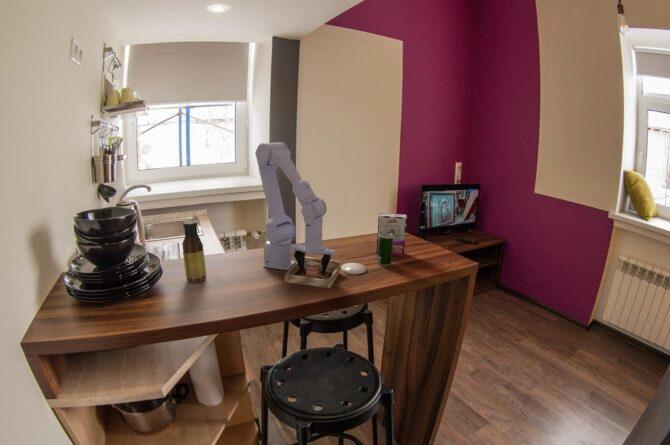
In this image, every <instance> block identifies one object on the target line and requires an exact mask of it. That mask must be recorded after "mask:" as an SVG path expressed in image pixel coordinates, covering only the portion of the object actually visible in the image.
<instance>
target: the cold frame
mask: <svg viewBox="0 0 670 445" xmlns="http://www.w3.org/2000/svg"><path fill="white" fill-rule="evenodd" d="M321 259H322V258H320V257H319V258H318V257H312V256H305V259H304V270H306V268H305V265H306V263H309V262H317V263H320V264H321V268H320V272H322V260H321ZM340 263H341V261H340V260H334V259H330V261H329V263H328V266H327V269H326V273H331V276H330V277H329V279H323V278H319V279H317V278H310V277H306V276H303V275H302V276H301V275H295V274H296V272H298V270H300V268H299V265H298V263H297V261H295V263H294V264H293V265H292V266H291V267H290V268H289V269H288V270H287V272H286V273H285V274H284V282H285V283H291V284H298V285H303V286H311V287H317V288H325V289H331V288H332V286H333V285H334V283H335V281H336V279H337V277H338V276H339V274H340V268H341V266H340Z"/></svg>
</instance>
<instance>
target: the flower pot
mask: <svg viewBox="0 0 670 445" xmlns="http://www.w3.org/2000/svg"><path fill="white" fill-rule="evenodd" d="M305 268H306V269H305V277H310V278H317V279H321V278H320V277H321V271H320V268H321V264H320V263H317V262H309V263H306V265H305Z"/></svg>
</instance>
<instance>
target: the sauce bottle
mask: <svg viewBox="0 0 670 445" xmlns="http://www.w3.org/2000/svg"><path fill="white" fill-rule="evenodd" d="M182 226H183V228H184V239H183V240H182V243H181V244H182V254H183V263H184V270H185V271H184V272H185V277H186V281H187V282H188V283H191V284H198V283H201V282H203V281H205V280H206V279H207V269H206V260H205V251H204V243H203V242H202V239H201V238H200V236H199V234H198V223H197V221H196V220H187V221H184V222H183V223H182Z"/></svg>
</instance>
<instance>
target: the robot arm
mask: <svg viewBox="0 0 670 445" xmlns="http://www.w3.org/2000/svg"><path fill="white" fill-rule="evenodd" d="M255 158H256V162H257V166H258V172H259V175H260V180H261V184H262V188H263V192H264V196H265V201H266V205H267V209H268V214H269V218H268V220H267V222H266V223H265V229H266V230H265V232H266V233H265V237H266V239H267V241H266V242H265V244H264V245H263V246H264V247H263V261H264V262H263V263H264V264H263V268H268V269H275V270H283V271H289V270H290V269H291V267H292V266H293V265H294V264H295V263H296V262H297V263H298V265H299V271H300V274H303V273H304V272H305V269H304V259H305V257H306V254H308V255H320V256H322V257H321V258H320V259H321V260H322V271H321V277H325V275H326V273H327V272H326V269H327V266H328V263H329V261H330V260H332V258H335V256H336V250H335V249H331V248H327V247H325V246H323V224H324V223H323V218H324V215H325V214H326V213H327V208H328V207H327V204H326V202H325V200H323V199H321V198H320V197H319V196H317V195H316V194H315V192H314V190H313V189H312V187H311V184H310V183H309V182H308V181H307V180H304V179H302V178H301V175H300V174H299V171H298V169H297V168H296V166H295V163H294V162H293V159H291V158H292V157H291V150H290V149H289V146H288V145H287V144H286V143H285V142H283V141H279V142H266V143H265V142H261V143H259V145H258V146H257V147H256V150H255ZM278 167H279V168H280V169H281V170H282V172H283V173H284V175H285V176H286V178H287V179H288V180H289V182H290V183H291V184H292V189H291V191H292V192H293V194H294V196H295V197H296V199H297V201H298V202H299V204H300V206H301V209H300V212H301V215H302V218H303V222H304V244H293V245H292V242H293V241H294V240H293V239H294V238H296V236H297V229H296V227H295V225H294V223H293V220H292V218H291V217H290V216H288V215H287V214H286V212H285V207H284V203H283V198H282V194H281V190H280V185H279V181H278V177H277V174H276V172H277V171H276V170H277V169H278ZM292 253H294V254H293V257H294V259H295V260H296V261H295V260H292Z"/></svg>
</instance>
